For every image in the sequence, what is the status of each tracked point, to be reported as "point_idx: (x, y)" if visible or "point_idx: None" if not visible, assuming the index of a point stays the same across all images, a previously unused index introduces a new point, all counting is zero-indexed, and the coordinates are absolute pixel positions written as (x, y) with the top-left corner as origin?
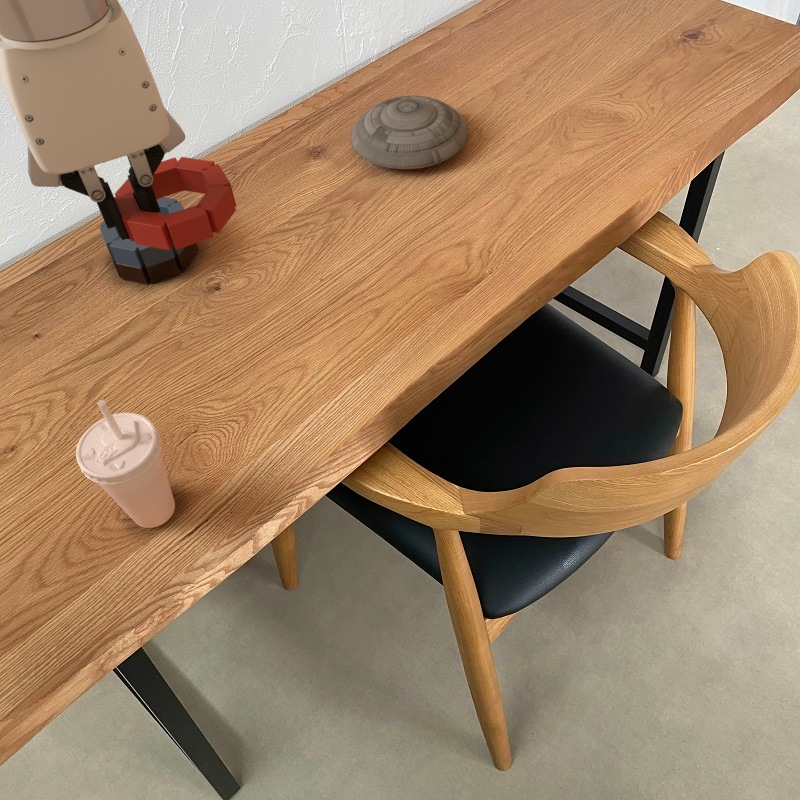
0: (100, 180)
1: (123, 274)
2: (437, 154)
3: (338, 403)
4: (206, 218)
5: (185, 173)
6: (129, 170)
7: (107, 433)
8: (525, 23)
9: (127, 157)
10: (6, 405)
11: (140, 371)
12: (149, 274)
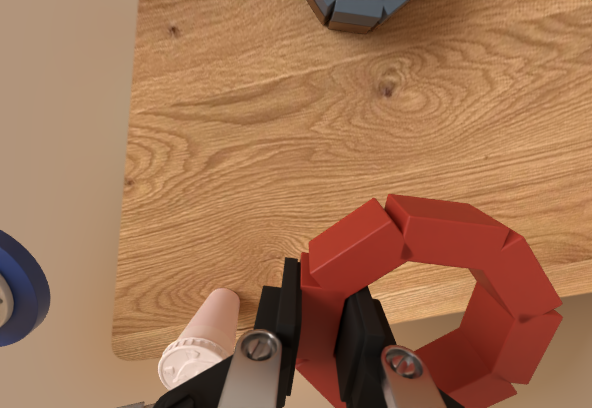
0: (278, 387)
1: None
2: None
3: (390, 298)
4: None
5: (484, 278)
6: (367, 377)
7: (189, 366)
8: None
9: (389, 390)
10: (128, 123)
11: (262, 163)
12: (330, 24)
